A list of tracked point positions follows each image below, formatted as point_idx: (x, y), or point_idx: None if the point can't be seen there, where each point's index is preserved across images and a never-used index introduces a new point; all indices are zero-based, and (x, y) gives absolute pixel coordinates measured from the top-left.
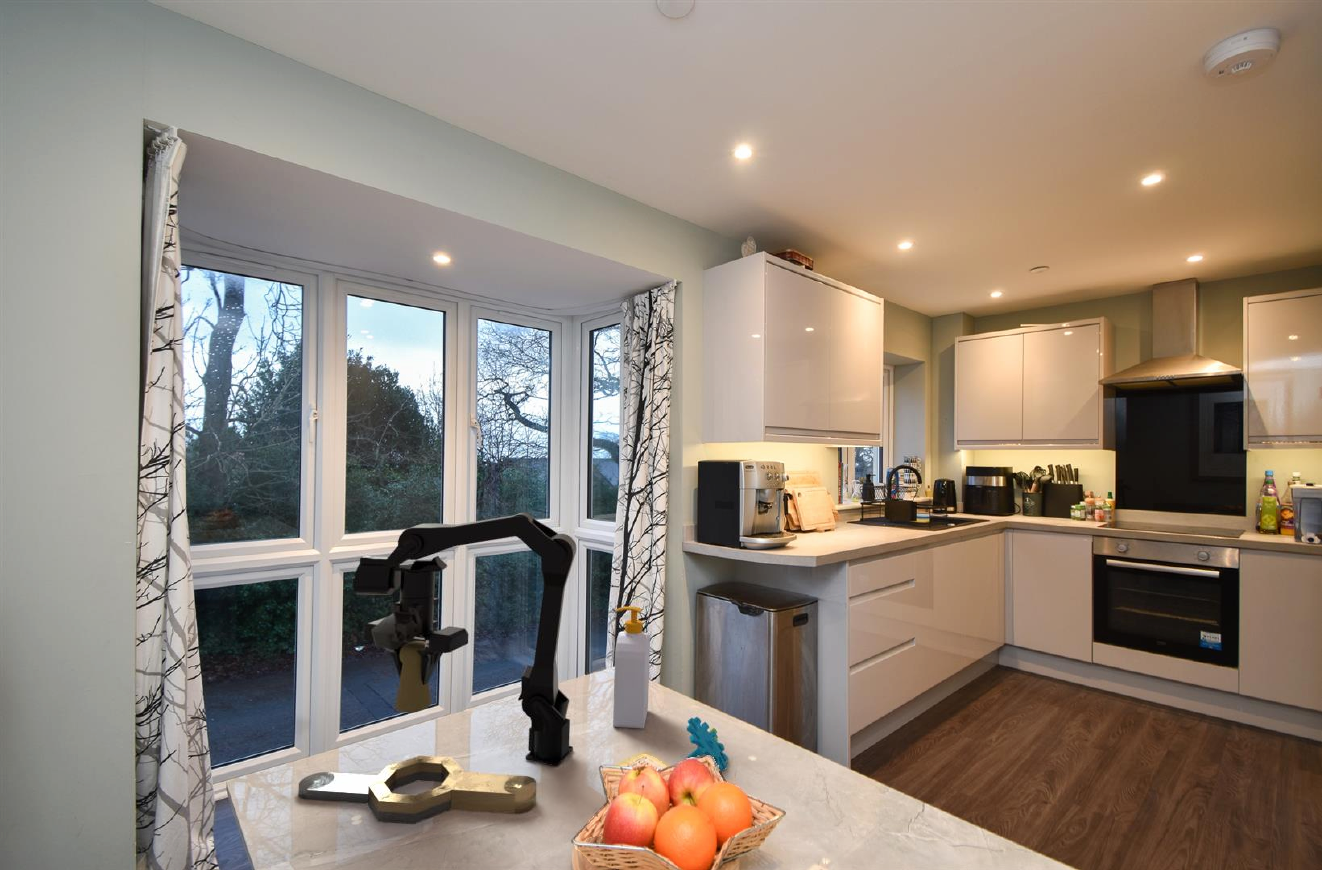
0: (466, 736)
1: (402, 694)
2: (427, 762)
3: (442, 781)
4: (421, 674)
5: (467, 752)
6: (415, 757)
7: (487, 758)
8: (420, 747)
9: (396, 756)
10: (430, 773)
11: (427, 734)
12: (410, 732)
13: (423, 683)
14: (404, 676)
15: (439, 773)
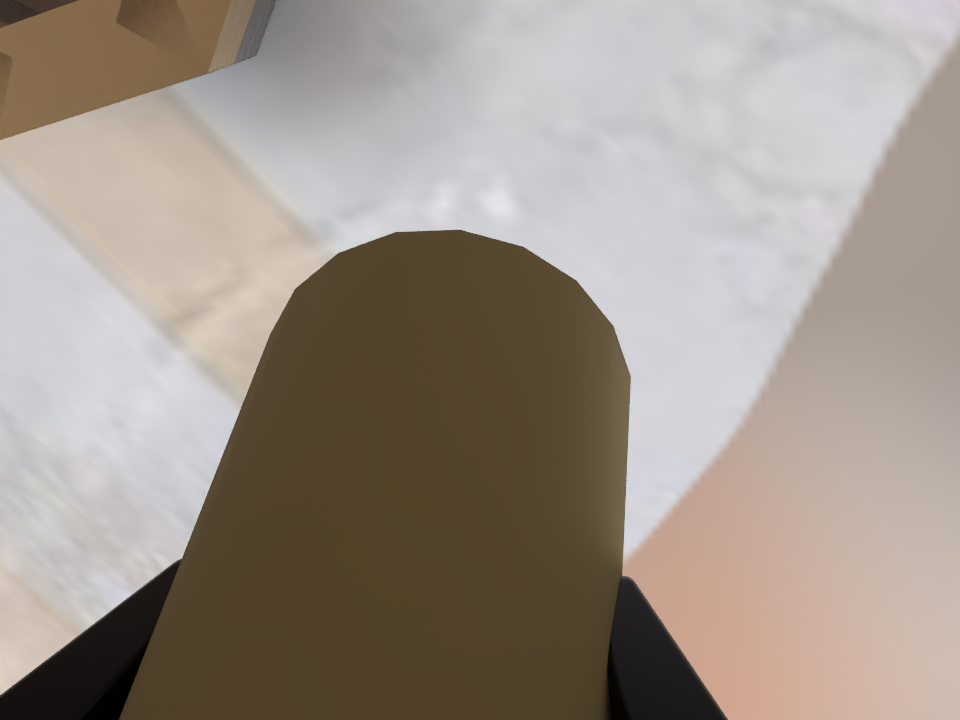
0: None
1: (422, 348)
2: (69, 3)
3: (21, 11)
4: (101, 688)
5: (210, 362)
6: (215, 33)
7: (66, 347)
8: None
9: (564, 178)
10: None
11: None
12: (684, 435)
13: (169, 573)
14: (372, 567)
15: None
